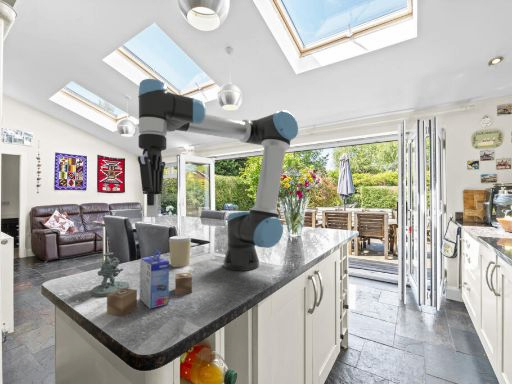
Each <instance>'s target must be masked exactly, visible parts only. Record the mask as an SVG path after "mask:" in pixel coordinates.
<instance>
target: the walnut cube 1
mask: <svg viewBox="0 0 512 384" xmlns="http://www.w3.org/2000/svg"><path fill="white" fill-rule="evenodd" d="M137 308H138V289H131V288H128V289H125V288H121V289H119V290H117V291H115V292H113V293H110V294H108V295H107V296H106V314H107V315H111V316H118V317H124V316H126V315H127V314H129V313H131V312H133V311H134V310H136V309H137Z"/></svg>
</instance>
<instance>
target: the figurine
mask: <svg viewBox="0 0 512 384" xmlns="http://www.w3.org/2000/svg"><path fill="white" fill-rule="evenodd" d="M102 255H103V257H106V258H105V260H103V263H102V265H101V266H100V270H98V271H97V275H98V276H99V277H103V279H102V281H101V282H100V284H99V285H96V286H94V287H92V288H91V290H90V294H91V296H93V297H95V298H97V297H98V298H104V297H106V298H107V295H108V294H110V293H113V292H115V291H117V290H119V289H121V288H125V289H130V287H129V286H130V284H129V282H127V281H123V280H122V281H121V280H120V281H118V280H117V281H116V277H119V274H120V273H121V272H122V271H123V270H124V268H118V266H119V264H120V261H121V260H120V259H119V258H117V257H115V256H113V257H111V258H110V256H112V255H114V252H109V251H107V252H106V253H103V254H102ZM108 279H109V282H108Z"/></svg>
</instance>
